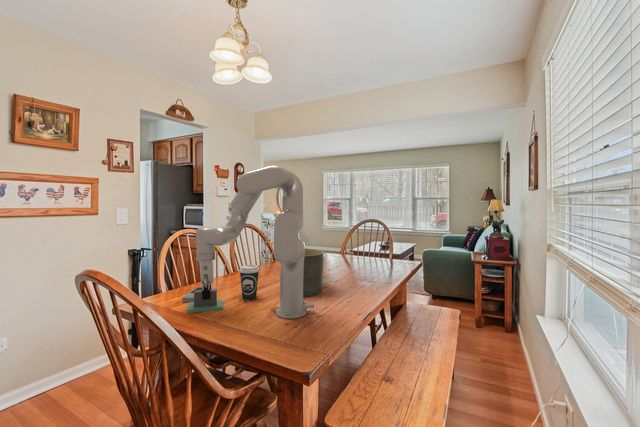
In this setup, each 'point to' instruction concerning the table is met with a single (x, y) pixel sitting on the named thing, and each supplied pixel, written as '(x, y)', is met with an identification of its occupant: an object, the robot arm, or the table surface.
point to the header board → (205, 307)
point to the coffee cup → (249, 281)
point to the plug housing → (209, 302)
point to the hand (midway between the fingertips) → (207, 295)
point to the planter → (313, 272)
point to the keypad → (191, 295)
